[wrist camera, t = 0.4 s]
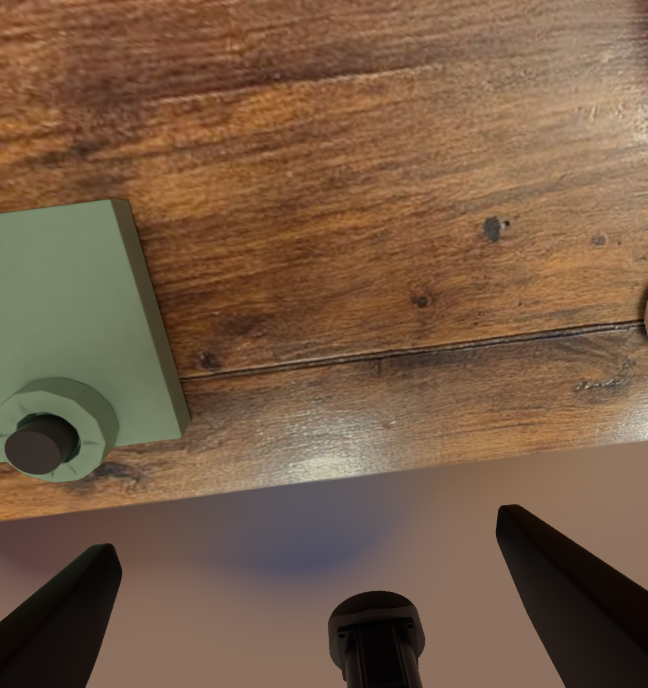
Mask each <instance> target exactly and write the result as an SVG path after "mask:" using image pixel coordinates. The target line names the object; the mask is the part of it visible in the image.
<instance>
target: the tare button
mask: <svg viewBox="0 0 648 688" xmlns="http://www.w3.org/2000/svg"><path fill="white" fill-rule="evenodd" d="M77 444H78V435H77V432H76V430H75V428H74V427H73V426H72V425H71V424H70V423H69V422H68V421H66V420H65V419H63V418H61V417H59V416H56V415H51V414H43V415H38V416H36V417H34V418H32V419H31V420H29V421H28V422H27V423H26V424H24V425H23V426H22V427H20V428H19V429H18V430H17V431H15V432H14V433H13V434H11V435H10V436H9V437H8V439H7V440H6V442H5V447H4V450H5V454H6V457H7V458H8V460H9V461H10V463H11V464H12V465H14V466H15V467H16V468H18V469H19V470H21V471H23V472H26V473H29V474H34V475H43V474H47V473H50V472H52V471H54V470H55V469H57V468H58V467H59V465H60V464H61V463H62V462H63V461H64V460H65V459H66V458H67V457H68V456H69V455H70V454H71V453H72V452H73V451H74V449H75V448H76V446H77Z"/></svg>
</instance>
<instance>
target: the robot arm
mask: <svg viewBox="0 0 648 688" xmlns="http://www.w3.org/2000/svg"><path fill="white" fill-rule="evenodd" d="M496 538H497V541H498V544H499V547H500V549H501V551H502V554H503V556H504V559H505V561H506V564H507V566H508V569H509V571H510V573H511V576H512V578H513V581H514V583H515V585H516V588H517V590H518V593H519V595H520V598H521V600H522V602H523V605H524V607H525V609H526V612H527V614H528V616H529V618H530V620H531V621H532V624H533V626H534V628H535V630H536V631H537V633H538V635H539V637H540V639H541V641H542V643H543V645H544V647H545V649H546V651H547V653H548V654H549V656H550V658H551V660H552V662H553V664H554V666H555V668H556V670H557V672H558V673H559V675H560V677H561V679H562V681H563V683H564V685H565V687H566V688H648V591H647V590H646V589H644V588H643V587H641V586H640V585H638V584H637V583H635V582H634V581H632V580H631V579H629V578H628V577H626V576H625V575H623V574H622V573H620V572H619V571H617V570H616V569H614V568H613V567H611V566H610V565H608V564H607V563H605V562H604V561H602V560H601V559H599V558H598V557H596V556H595V555H593V554H592V553H590V552H589V551H587V550H586V549H584V548H583V547H581V546H580V545H578V544H577V543H575V542H574V541H572V540H571V539H569V538H568V537H566V536H565V535H563V534H562V533H560V532H559V531H557V530H556V529H554V528H553V527H551V526H550V525H548V524H547V523H545V522H544V521H542V520H541V519H539V518H538V517H536V516H535V515H533V514H532V513H530V512H529V511H527V510H526V509H524V508H523V507H521V506H520V505H517V504H512V505H502V506H501V507H500V508H499V510H498V518H497V526H496ZM121 578H122V568H121V565H120V562H119V559H118V556H117V553H116V550H115V548H114V546H113V545H112V544H110V543H107V544H97V545H93V546H91V547H89V548H88V549H87V550H86V551H85V552H83V553H82V554H81V555H80V556H78V557H77V558H76V559H75V560H74V561H73V562H71V563H70V564H69V565H68V566H67V567H65V568H64V569H63V570H62V571H60V572H59V573H58V574H57V575H56V576H54V577H53V578H52V579H51V580H50V581H48V582H47V583H46V584H45V585H44V586H43V587H41V588H40V589H39V590H38V591H36V592H35V593H34V594H33V595H32V596H30V597H29V598H28V599H27V600H26V601H24V602H23V603H22V604H21V605H20V606H18V607H17V608H16V609H15V610H14V611H13V612H11V613H10V614H9V615H8V616H7V617H5V618H4V619H3V620H2V621H1V622H0V688H85V687H86V685H87V682H88V680H89V678H90V675H91V673H92V670H93V667H94V665H95V662H96V659H97V656H98V653H99V651H100V648H101V645H102V641H103V638H104V635H105V632H106V628H107V625H108V622H109V618H110V615H111V612H112V609H113V605H114V602H115V599H116V596H117V592H118V589H119V586H120V582H121ZM336 639H337V645H338V651H339V657H340V663H341V669H342V675H343V680H344V681H346V682H347V688H423V687H422V683H421V679H420V675H419V671H418V650H417V631H416V623H415V619H414V618H413V617H404V618H397V619H390V620H383V621H376V622H369V623H362V624H354V625H347V626H341V627H338V628H337V629H336Z"/></svg>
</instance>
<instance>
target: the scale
mask: <svg viewBox="0 0 648 688" xmlns="http://www.w3.org/2000/svg"><path fill="white" fill-rule="evenodd" d="M43 414H51V415H56V416H59V417H61V418H63V419H65V420H66V421H68V422H69V423H70V424H71V425H72V426H73V427H74V428H75V430H76V432H77V435H78V444H77V446H76V448H75V449H74V451H73V452H72V453H71V454H70V455H69V456H68V457H67V458H66V459H65V460H64V461H63V462H62V463H61V464H60V465H59V467H58V468H57V469H55V470H54V471H52V472H50V473H47V474H43V475H34V474H29V473H26V472H23V471H21V470H19V469H18V468H16V467H15V466H14V465H12V464H11V463H10V461H9V460H8V458H7V457H6V454H5V450H4V447H5V442H6V440H7V439H8V437H9V436H10V435H11V434H13V433H14V432H15V431H17V430H18V429H19V428H20V427H22V426H23V425H24V424H26V423H27V422H28V421H29V420H31V419H32V418H34V417H36V416H38V415H43ZM190 422H191V418H190V415H189V412H188V408H187V405H186V401H185V398H184V394H183V391H182V387H181V384H180V380H179V377H178V373H177V370H176V366H175V363H174V359H173V356H172V352H171V349H170V345H169V342H168V338H167V335H166V331H165V328H164V324H163V321H162V317H161V314H160V310H159V307H158V304H157V300H156V297H155V293H154V290H153V286H152V283H151V279H150V276H149V272H148V269H147V265H146V262H145V258H144V255H143V251H142V248H141V244H140V241H139V237H138V234H137V230H136V227H135V223H134V220H133V216H132V213H131V209H130V206H129V202H128V200H119V199H106V200H98V201H91V202H83V203H75V204H68V205H60V206H52V207H44V208H37V209H29V210H21V211H14V212H6V213H0V462H8V463H9V464H11V465H12V466H13V467H15V468H16V469H17V470H19V471H20V472H21V473H23V474H24V475H27V476H30V477H34V478H37V479H41V480H45V481H49V482H52V483H53V482H54V483H58V482H65V481H73V480H80V479H82V478H84V477H85V476H86V475H88V474H89V473H90V472H92V471H93V470H94V469H96V468H97V467H98V466H99V465H100V464H101V463H102V462H103V460H104V459H105V458H106V457H107V455H108V454H109V453H110V451H111V450H112V449H113V447H117V446H125V445H132V444H139V443H147V442H154V441H162V440H169V439H176V438H182V437H183V435H184V433H185V431H186V429H187V427H188V425H189V424H190Z"/></svg>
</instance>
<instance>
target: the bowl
mask: <svg viewBox="0 0 648 688" xmlns="http://www.w3.org/2000/svg"><path fill="white" fill-rule="evenodd" d="M644 320H645V321H644V324H645V328H646V332H647V335H648V299H647V302H646V306H645V317H644Z"/></svg>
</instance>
